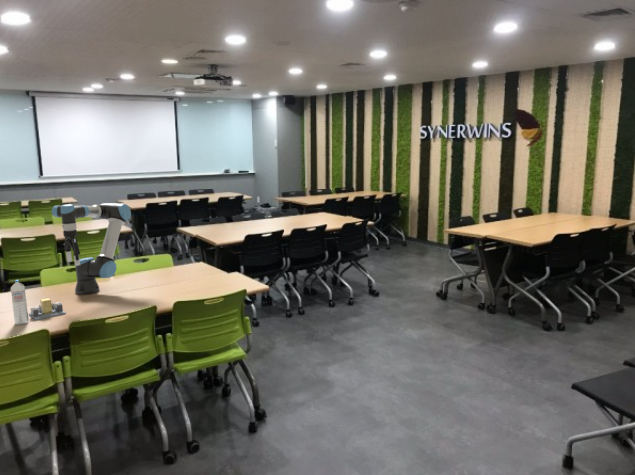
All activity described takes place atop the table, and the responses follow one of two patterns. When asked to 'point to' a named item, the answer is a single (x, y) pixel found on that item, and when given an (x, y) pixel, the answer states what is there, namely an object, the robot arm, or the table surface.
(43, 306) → the pale yellow block
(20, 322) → the water bottle
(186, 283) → the table surface
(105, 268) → the robot arm
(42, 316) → the shaft bench
